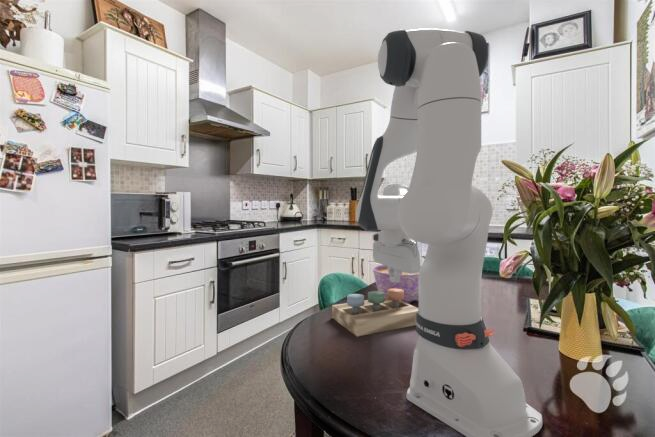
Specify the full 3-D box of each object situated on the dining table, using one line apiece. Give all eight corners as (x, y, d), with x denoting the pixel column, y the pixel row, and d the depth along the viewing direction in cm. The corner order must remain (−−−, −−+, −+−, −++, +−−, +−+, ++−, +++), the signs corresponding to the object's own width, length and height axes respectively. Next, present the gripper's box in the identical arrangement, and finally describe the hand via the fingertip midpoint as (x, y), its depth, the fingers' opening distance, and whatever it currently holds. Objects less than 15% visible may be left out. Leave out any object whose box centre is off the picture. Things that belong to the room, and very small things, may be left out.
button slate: (367, 317, 95) (367, 297, 95) (352, 319, 93) (352, 299, 93) (359, 312, 100) (358, 293, 100) (344, 314, 98) (344, 295, 98)
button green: (387, 313, 98) (387, 294, 98) (373, 316, 96) (373, 296, 96) (378, 309, 103) (378, 290, 102) (364, 311, 101) (364, 292, 100)
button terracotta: (407, 310, 101) (407, 291, 101) (393, 312, 99) (393, 293, 99) (397, 305, 105) (397, 287, 105) (384, 308, 103) (384, 289, 103)
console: (423, 323, 96) (423, 310, 96) (357, 336, 88) (356, 321, 88) (391, 308, 111) (391, 296, 111) (332, 317, 102) (332, 305, 102)
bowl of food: (409, 291, 132) (409, 262, 132) (441, 305, 113) (441, 272, 113) (363, 296, 126) (363, 266, 126) (389, 312, 107) (389, 276, 107)
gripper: (426, 241, 93) (425, 289, 94) (385, 234, 112) (385, 274, 113) (408, 242, 91) (407, 291, 91) (369, 234, 109) (369, 275, 110)
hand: (394, 281), depth 102 cm, fingers closed
